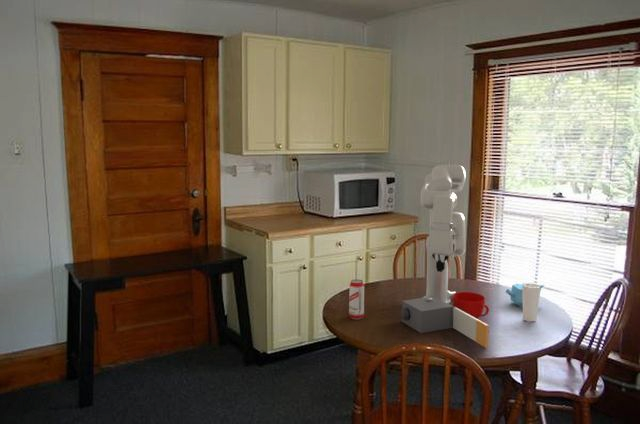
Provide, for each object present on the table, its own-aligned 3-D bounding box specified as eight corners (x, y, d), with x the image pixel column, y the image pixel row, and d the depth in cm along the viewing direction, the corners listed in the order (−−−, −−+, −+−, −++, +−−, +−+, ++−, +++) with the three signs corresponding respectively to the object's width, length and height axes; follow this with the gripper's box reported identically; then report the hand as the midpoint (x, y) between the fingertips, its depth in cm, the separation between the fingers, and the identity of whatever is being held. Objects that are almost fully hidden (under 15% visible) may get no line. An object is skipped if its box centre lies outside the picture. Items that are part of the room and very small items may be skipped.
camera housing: (431, 316, 231) (432, 294, 229) (452, 327, 218) (453, 304, 217) (398, 322, 224) (399, 299, 223) (418, 333, 212) (418, 309, 210)
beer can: (355, 313, 234) (356, 278, 232) (366, 317, 230) (367, 281, 227) (346, 317, 230) (346, 281, 227) (357, 321, 225) (357, 284, 223)
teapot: (511, 310, 239) (512, 288, 237) (498, 300, 253) (499, 279, 251) (550, 309, 241) (551, 287, 239) (535, 299, 254) (536, 278, 253)
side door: (451, 327, 218) (452, 307, 216) (454, 326, 218) (455, 306, 217) (485, 347, 198) (486, 325, 196) (488, 347, 198) (489, 325, 197)
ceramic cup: (476, 330, 215) (477, 306, 214) (445, 317, 230) (446, 295, 228) (498, 324, 222) (499, 300, 221) (466, 312, 236) (467, 290, 235)
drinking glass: (530, 323, 222) (532, 288, 220) (517, 318, 228) (519, 284, 226) (541, 321, 226) (544, 286, 223) (528, 316, 231) (530, 282, 229)
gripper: (463, 226, 211) (461, 271, 215) (427, 222, 219) (425, 265, 222) (457, 230, 205) (455, 276, 208) (420, 225, 213) (419, 270, 216)
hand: (440, 270), depth 215 cm, fingers closed
